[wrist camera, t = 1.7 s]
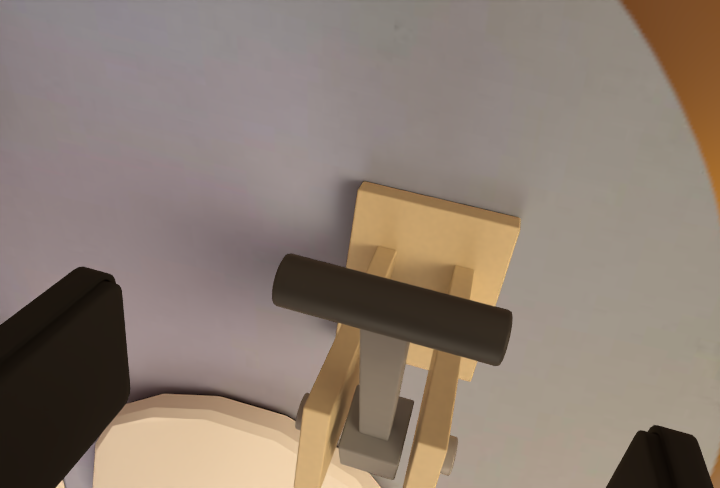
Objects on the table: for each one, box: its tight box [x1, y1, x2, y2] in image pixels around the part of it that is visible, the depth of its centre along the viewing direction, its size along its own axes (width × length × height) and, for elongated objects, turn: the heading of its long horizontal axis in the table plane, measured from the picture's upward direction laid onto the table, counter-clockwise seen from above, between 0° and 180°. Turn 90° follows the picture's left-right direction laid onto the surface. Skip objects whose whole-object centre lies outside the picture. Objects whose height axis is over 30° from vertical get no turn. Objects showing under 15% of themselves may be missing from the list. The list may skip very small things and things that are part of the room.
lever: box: [272, 254, 512, 480], centre depth 17 cm, size 13×5×2 cm, turn 172°
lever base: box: [294, 181, 520, 488], centre depth 26 cm, size 10×8×13 cm
